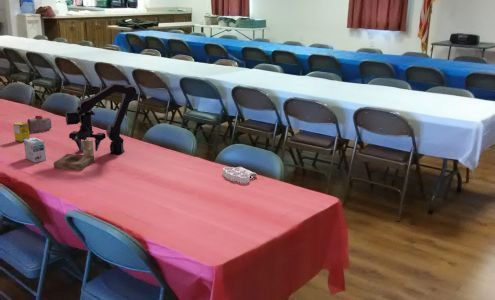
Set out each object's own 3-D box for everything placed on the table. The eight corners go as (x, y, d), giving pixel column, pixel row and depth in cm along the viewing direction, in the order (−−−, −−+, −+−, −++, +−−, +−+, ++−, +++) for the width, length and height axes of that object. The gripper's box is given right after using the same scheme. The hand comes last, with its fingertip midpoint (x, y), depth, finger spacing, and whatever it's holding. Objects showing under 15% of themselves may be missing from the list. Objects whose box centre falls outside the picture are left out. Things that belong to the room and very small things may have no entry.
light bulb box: (46, 160, 283) (44, 140, 280) (34, 162, 278) (32, 143, 275) (37, 155, 290) (35, 136, 286) (25, 158, 285) (23, 139, 282)
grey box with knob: (48, 127, 346) (46, 113, 343) (53, 130, 340) (51, 115, 337) (26, 131, 337) (25, 116, 334) (31, 133, 331) (30, 118, 328)
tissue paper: (261, 180, 262) (237, 186, 253) (238, 170, 275) (215, 175, 266) (261, 173, 261) (237, 179, 252) (238, 164, 274) (215, 169, 265)
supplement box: (30, 140, 316) (28, 123, 313) (21, 143, 312) (19, 125, 308) (24, 139, 319) (22, 121, 316) (15, 141, 315) (13, 123, 311)
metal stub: (88, 149, 302) (88, 141, 301) (85, 151, 298) (85, 143, 297) (82, 149, 303) (81, 140, 301) (78, 151, 299) (78, 142, 297)
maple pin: (93, 155, 293) (92, 139, 290) (90, 157, 289) (89, 141, 286) (86, 154, 293) (85, 139, 290) (83, 156, 289) (82, 141, 287)
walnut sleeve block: (94, 160, 283) (93, 155, 282) (82, 170, 269) (81, 164, 268) (67, 159, 285) (67, 153, 284) (54, 168, 271) (53, 162, 270)
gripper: (63, 125, 279) (65, 154, 284) (96, 127, 277) (98, 156, 281) (72, 120, 290) (74, 148, 294) (105, 122, 287) (106, 150, 292)
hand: (88, 150), depth 290 cm, fingers open, 9 cm apart
